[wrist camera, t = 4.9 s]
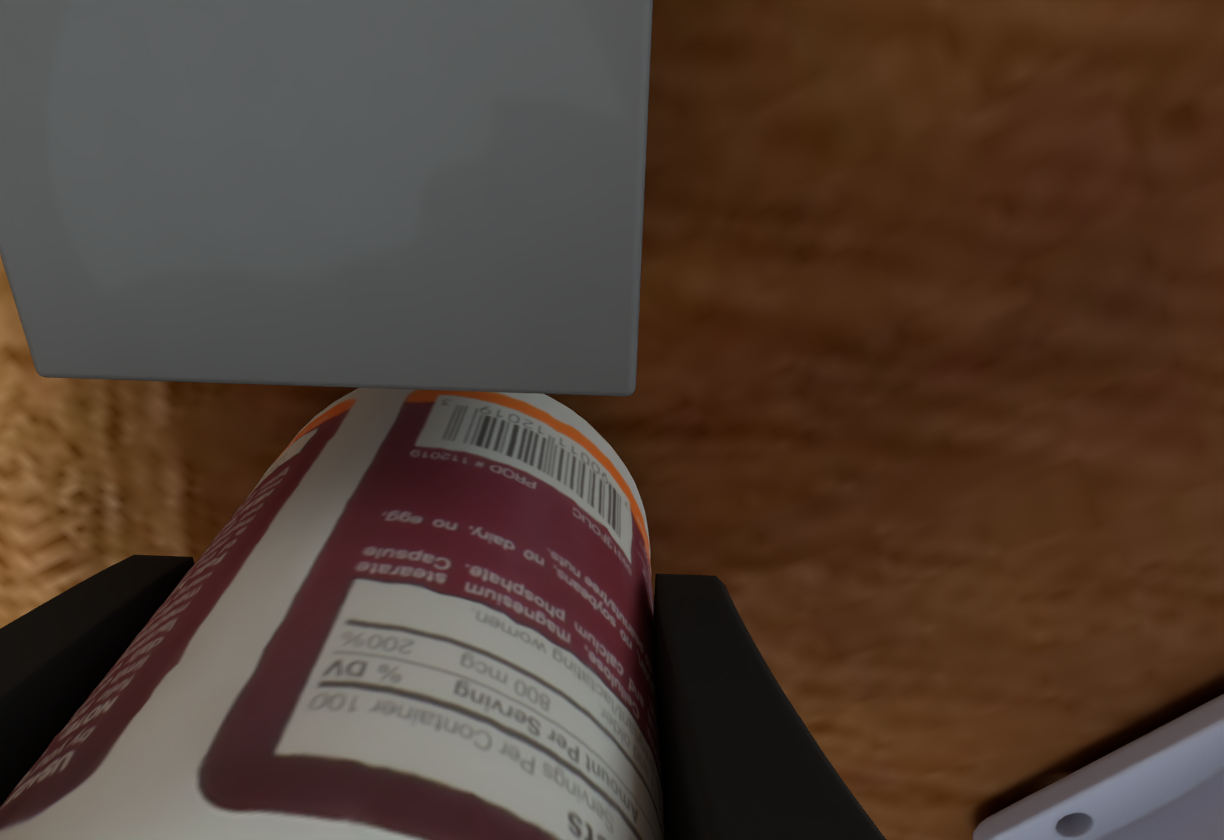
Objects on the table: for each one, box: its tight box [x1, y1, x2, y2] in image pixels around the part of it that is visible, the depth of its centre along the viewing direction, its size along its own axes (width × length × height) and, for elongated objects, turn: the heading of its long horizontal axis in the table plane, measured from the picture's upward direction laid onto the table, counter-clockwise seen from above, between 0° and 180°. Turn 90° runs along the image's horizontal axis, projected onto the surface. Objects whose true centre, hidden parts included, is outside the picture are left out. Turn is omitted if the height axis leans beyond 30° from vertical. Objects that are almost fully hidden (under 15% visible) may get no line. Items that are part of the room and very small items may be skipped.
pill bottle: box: [0, 388, 664, 840], centre depth 7 cm, size 5×5×8 cm
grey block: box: [0, 0, 653, 396], centre depth 6 cm, size 4×4×4 cm
